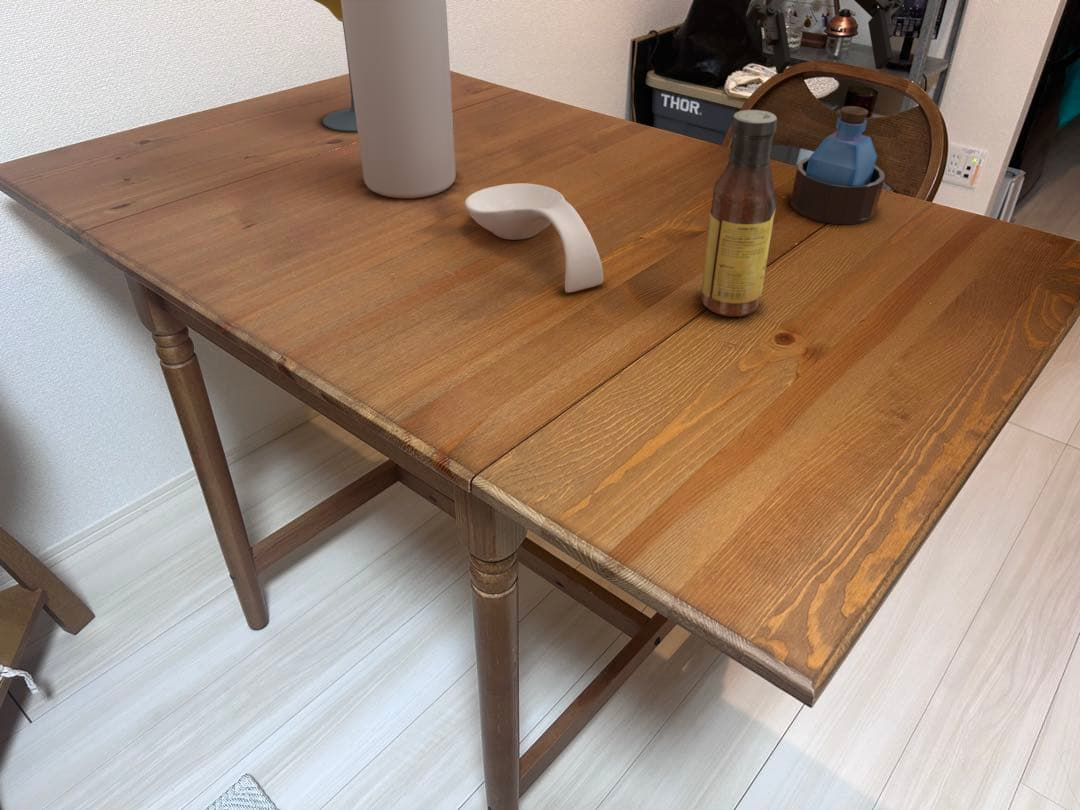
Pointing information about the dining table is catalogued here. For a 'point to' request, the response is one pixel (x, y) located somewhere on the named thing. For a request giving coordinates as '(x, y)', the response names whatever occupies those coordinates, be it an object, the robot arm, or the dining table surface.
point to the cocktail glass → (347, 117)
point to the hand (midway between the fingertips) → (834, 65)
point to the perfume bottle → (845, 152)
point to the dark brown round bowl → (835, 198)
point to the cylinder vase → (401, 94)
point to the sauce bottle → (741, 219)
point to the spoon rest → (539, 225)
